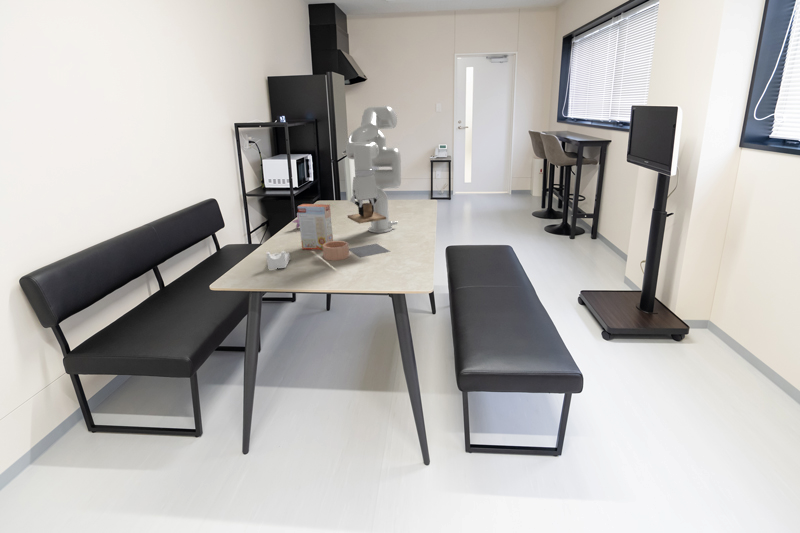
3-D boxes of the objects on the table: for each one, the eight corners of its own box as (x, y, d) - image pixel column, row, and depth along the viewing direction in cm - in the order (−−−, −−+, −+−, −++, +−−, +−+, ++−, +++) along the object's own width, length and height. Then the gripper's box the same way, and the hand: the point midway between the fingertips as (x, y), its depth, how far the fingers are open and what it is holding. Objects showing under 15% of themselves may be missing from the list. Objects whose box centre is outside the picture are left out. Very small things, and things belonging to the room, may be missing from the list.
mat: (376, 244, 223) (376, 243, 222) (390, 252, 210) (390, 251, 210) (347, 250, 216) (347, 248, 216) (360, 258, 204) (359, 257, 203)
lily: (320, 228, 260) (315, 212, 261) (313, 225, 249) (308, 208, 250) (300, 235, 262) (295, 219, 263) (292, 233, 250) (287, 216, 251)
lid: (373, 213, 216) (372, 199, 214) (386, 219, 206) (385, 204, 203) (347, 217, 211) (346, 203, 209) (359, 223, 200) (358, 208, 198)
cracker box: (334, 247, 221) (330, 204, 214) (328, 251, 215) (324, 206, 209) (308, 245, 225) (303, 203, 218) (301, 249, 220) (296, 205, 213)
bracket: (285, 269, 194) (283, 252, 192) (268, 271, 194) (266, 253, 191) (290, 260, 206) (288, 243, 204) (274, 261, 206) (271, 244, 203)
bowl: (343, 252, 213) (342, 239, 211) (352, 258, 204) (352, 245, 202) (320, 256, 209) (319, 243, 207) (329, 263, 199) (327, 249, 197)
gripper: (377, 170, 208) (379, 210, 214) (342, 174, 201) (345, 215, 207) (384, 172, 202) (387, 213, 208) (349, 176, 195) (352, 219, 201)
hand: (366, 214), depth 208 cm, fingers closed on lid, 4 cm apart
